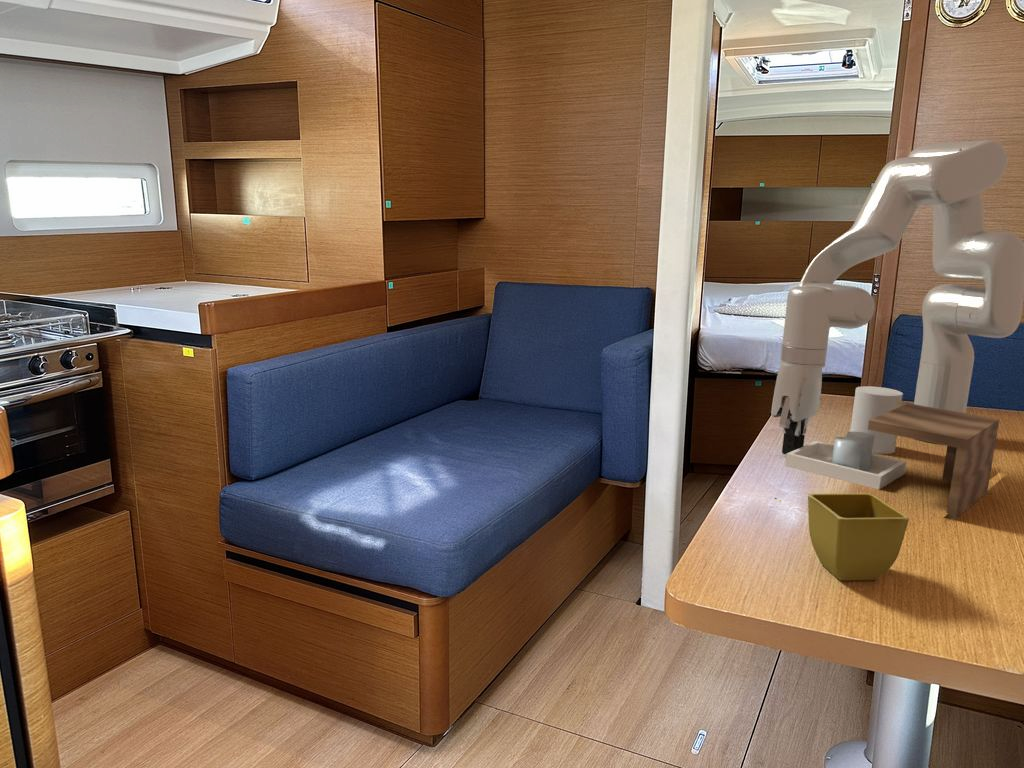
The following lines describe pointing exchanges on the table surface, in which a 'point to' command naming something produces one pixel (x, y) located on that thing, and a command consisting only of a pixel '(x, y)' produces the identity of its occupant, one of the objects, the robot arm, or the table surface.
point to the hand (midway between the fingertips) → (791, 454)
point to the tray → (820, 462)
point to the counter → (949, 447)
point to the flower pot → (855, 534)
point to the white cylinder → (875, 414)
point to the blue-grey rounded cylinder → (847, 452)
